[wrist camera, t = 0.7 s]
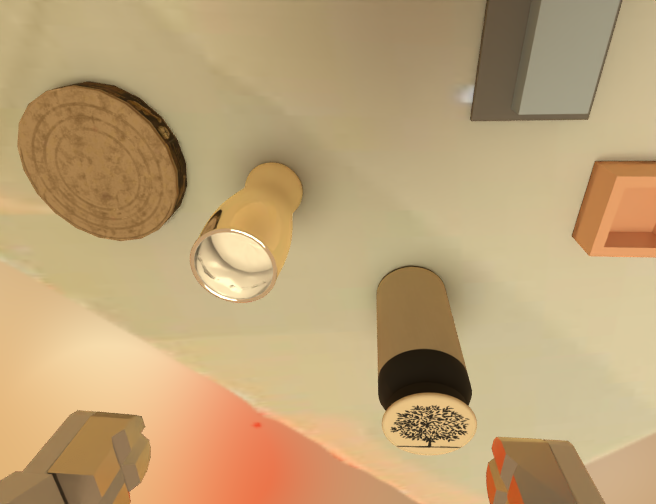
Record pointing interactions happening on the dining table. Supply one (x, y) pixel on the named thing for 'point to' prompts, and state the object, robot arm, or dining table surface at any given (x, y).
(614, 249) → the orange frame
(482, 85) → the mat
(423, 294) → the travel mug
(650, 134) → the dining table surface
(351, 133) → the dining table surface
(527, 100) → the slate board
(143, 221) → the wood slice coaster
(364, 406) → the dining table surface
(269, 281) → the beer glass
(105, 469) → the robot arm
